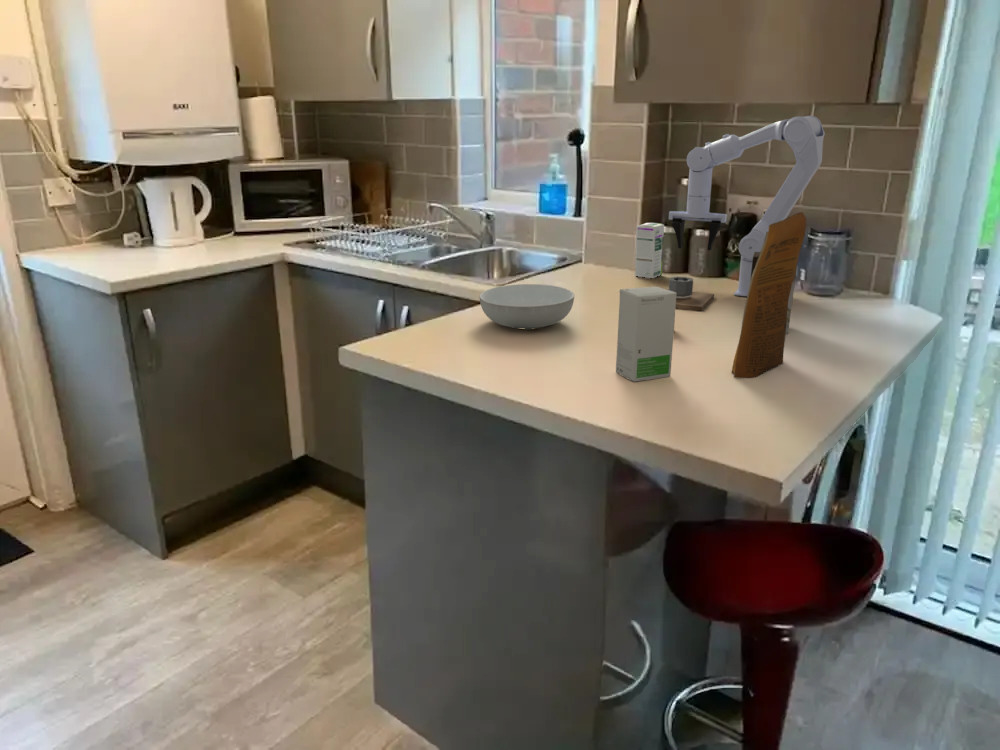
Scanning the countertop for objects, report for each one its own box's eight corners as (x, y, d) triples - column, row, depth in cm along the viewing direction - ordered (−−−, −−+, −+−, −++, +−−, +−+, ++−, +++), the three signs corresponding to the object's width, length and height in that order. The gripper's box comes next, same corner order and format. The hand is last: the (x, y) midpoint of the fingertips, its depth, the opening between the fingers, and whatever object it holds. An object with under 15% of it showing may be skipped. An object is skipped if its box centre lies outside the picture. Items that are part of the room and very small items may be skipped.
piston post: (692, 296, 193) (693, 280, 192) (687, 300, 189) (688, 284, 187) (671, 293, 195) (672, 278, 194) (666, 298, 191) (667, 282, 190)
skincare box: (633, 383, 138) (637, 296, 132) (613, 371, 143) (617, 288, 138) (672, 376, 141) (678, 291, 136) (651, 365, 147) (656, 284, 141)
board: (714, 297, 195) (714, 293, 195) (701, 310, 184) (702, 306, 183) (659, 292, 201) (659, 288, 201) (643, 304, 189) (643, 300, 189)
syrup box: (652, 279, 216) (655, 226, 211) (633, 276, 219) (636, 224, 214) (662, 275, 220) (665, 223, 215) (643, 273, 224) (646, 221, 219)
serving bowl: (514, 307, 188) (514, 279, 186) (590, 320, 177) (591, 290, 174) (460, 327, 172) (460, 297, 170) (541, 343, 161) (541, 310, 158)
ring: (691, 291, 194) (692, 277, 193) (692, 296, 189) (693, 282, 187) (668, 290, 195) (669, 276, 194) (668, 295, 190) (669, 281, 189)
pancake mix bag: (802, 361, 148) (821, 211, 139) (752, 386, 136) (770, 224, 126) (769, 353, 153) (785, 208, 144) (718, 377, 140) (732, 219, 131)
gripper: (730, 195, 201) (726, 248, 205) (674, 192, 207) (671, 244, 211) (725, 198, 195) (720, 252, 199) (667, 195, 201) (664, 248, 205)
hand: (694, 248), depth 205 cm, fingers open, 7 cm apart
